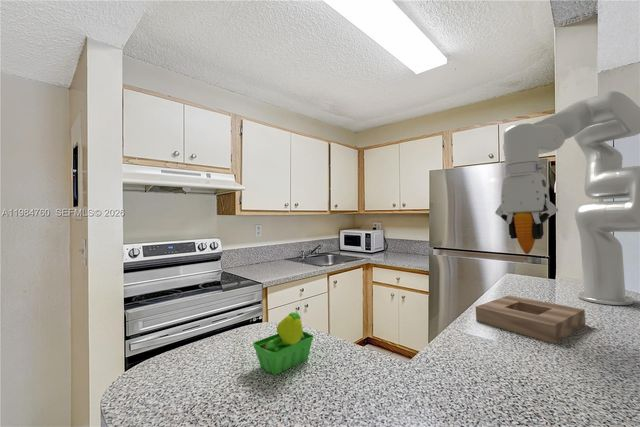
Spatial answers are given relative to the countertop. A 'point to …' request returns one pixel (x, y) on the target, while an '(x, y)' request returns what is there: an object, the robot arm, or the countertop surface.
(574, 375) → the countertop surface
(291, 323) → the fruit basket
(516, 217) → the carrot
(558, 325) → the socket block
